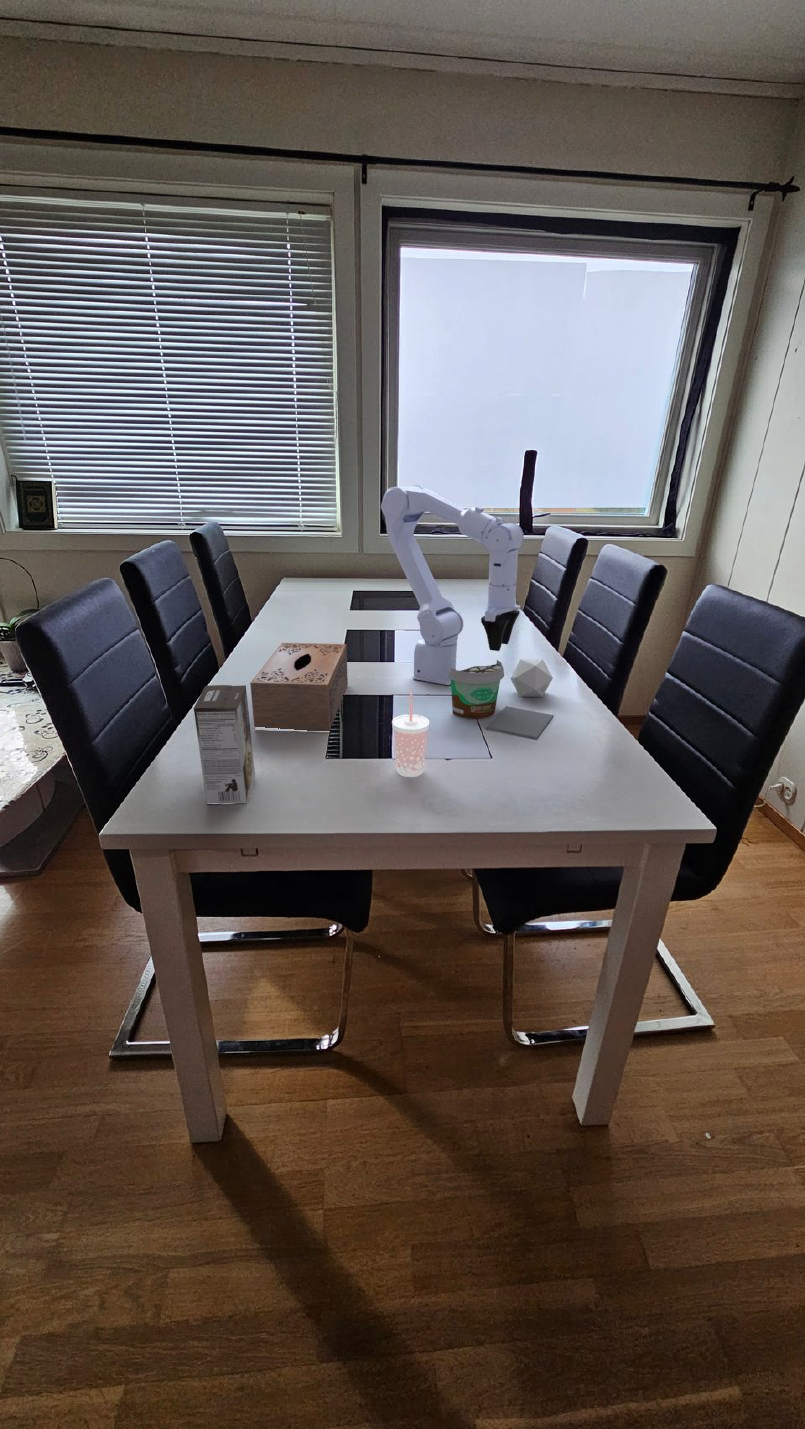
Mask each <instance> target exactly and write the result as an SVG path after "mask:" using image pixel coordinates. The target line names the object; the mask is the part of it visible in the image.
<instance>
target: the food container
mask: <svg viewBox="0 0 805 1429" xmlns="http://www.w3.org/2000/svg"><path fill="white" fill-rule="evenodd" d="M504 670H505V669H504V666H503V663H502V661H499V659H497V660H496V663H495V664H491V665H485V666H484V665H481V666H480V665H477V666H476V665H475V666H471V667H469V668H466V669H462V670H458V669H456V670H455V669H452V668H450V671H449V675H448V678H449V679H451V684H450V688H451V690H450V692H451V705H452V706H451V709H452V710H451V711H452V714H453V715H455V716H457V717H460V718H464V719H470V720H479V719H480V720H481V719H487V718H491V717H492V716H493V715H494V714H495V712H496V708H497V701H498V696H499V689H500V684H501V683H500V682H501V680H502V679H503V678H505V671H504Z"/></svg>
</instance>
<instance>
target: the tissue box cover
mask: <svg viewBox="0 0 805 1429" xmlns="http://www.w3.org/2000/svg"><path fill="white" fill-rule="evenodd" d="M347 646H348V644H346V643H314V642H313V643H309V642H282V643H280V645H279V646H278V647H277V649H276V650H275V651H274V653H272V655H271V656H270V658H269V659H268V660H267V661H266V662H265V664H264V665H263V666H262V668H261V669H260V670H259V671H258V672H257V674H256V675H255V676H254V677H253V679H252V680H251V681H250V684H249V686H250V695H251V705H252V716H253V727H254V726H255V727H265V728H278V729H279V728H280V729H294V730H307V731H330V729H331V730H332V728H331V726H332V724H333V725H334V723H333V721H334V722H335V720H336V718H335V716H336V717H337V715H336V714H338V712H339V710H340V707H341V705H342V702H341V700H342V701H343V699H344V697H343V695H344V696H345V694H346V691H347V689H346V688H348V686H347V685H349V684H348V683H349V682H348V680H349V679H348V651H347V650H348V647H347ZM345 690H346V691H345ZM344 693H345V694H344ZM342 698H343V699H342ZM339 706H340V707H339ZM338 709H339V710H338ZM337 711H338V712H337ZM334 719H335V720H334ZM332 727H333V726H332ZM330 732H331V731H330Z"/></svg>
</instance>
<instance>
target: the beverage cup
mask: <svg viewBox="0 0 805 1429" xmlns="http://www.w3.org/2000/svg"><path fill="white" fill-rule="evenodd" d="M413 693H414V692H409V714H400V715H398V716H396V717H394V718H393V719H392V720H391V725H392V726H391V727H392V730H393V736H394V738H393V739H394V753H395V754H394V755H395V756H394V757H395V767H396V769H395V770H396V773H397V774H399V775H400V776H402V777H405V778H416V777H419V776H421V775H423V773H424V771H425V769H424V768H425V759H426V758H425V757H426V749H427V748H426V747H427V738H428V730H429V728H430V720H429V719H428V718H427V717H426V716H423V715H420V714H413V702H414V701H413V698H414V694H413Z"/></svg>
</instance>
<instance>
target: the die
mask: <svg viewBox="0 0 805 1429" xmlns="http://www.w3.org/2000/svg"><path fill="white" fill-rule="evenodd" d="M553 679H554V678H553V676H552V674H551V671H550V670H549V668H548V666H547V664H546V662H545V660H544V659H541V658H540V659H539V658H538V659H534V658H533V659H531V658H529V659H526V658H525V659H523V658H522V659H519V660H518V663H517V664H516V666H515V669H513V672H512V674H511V676H510V680H511V682H512V685H513V687H514V689H515V691H516V693H517V694H518V696H519V698H526V697H527V698H542V697H544V695H545V694H546V691H547V689H548V688H549V686H550V684H551V682H552V681H553Z"/></svg>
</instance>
